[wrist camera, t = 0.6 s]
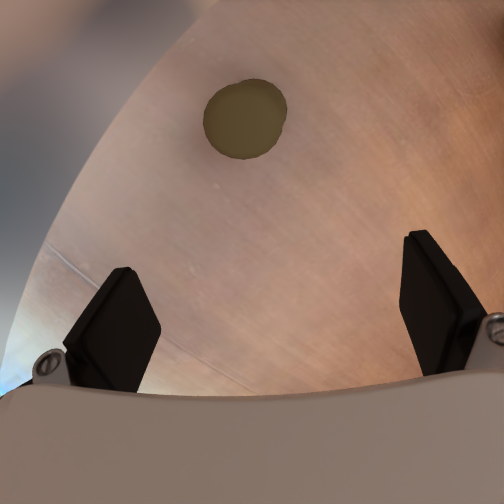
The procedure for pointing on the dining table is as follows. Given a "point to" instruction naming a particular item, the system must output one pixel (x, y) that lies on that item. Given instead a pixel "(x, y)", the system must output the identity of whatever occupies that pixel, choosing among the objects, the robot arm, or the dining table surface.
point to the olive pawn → (245, 118)
